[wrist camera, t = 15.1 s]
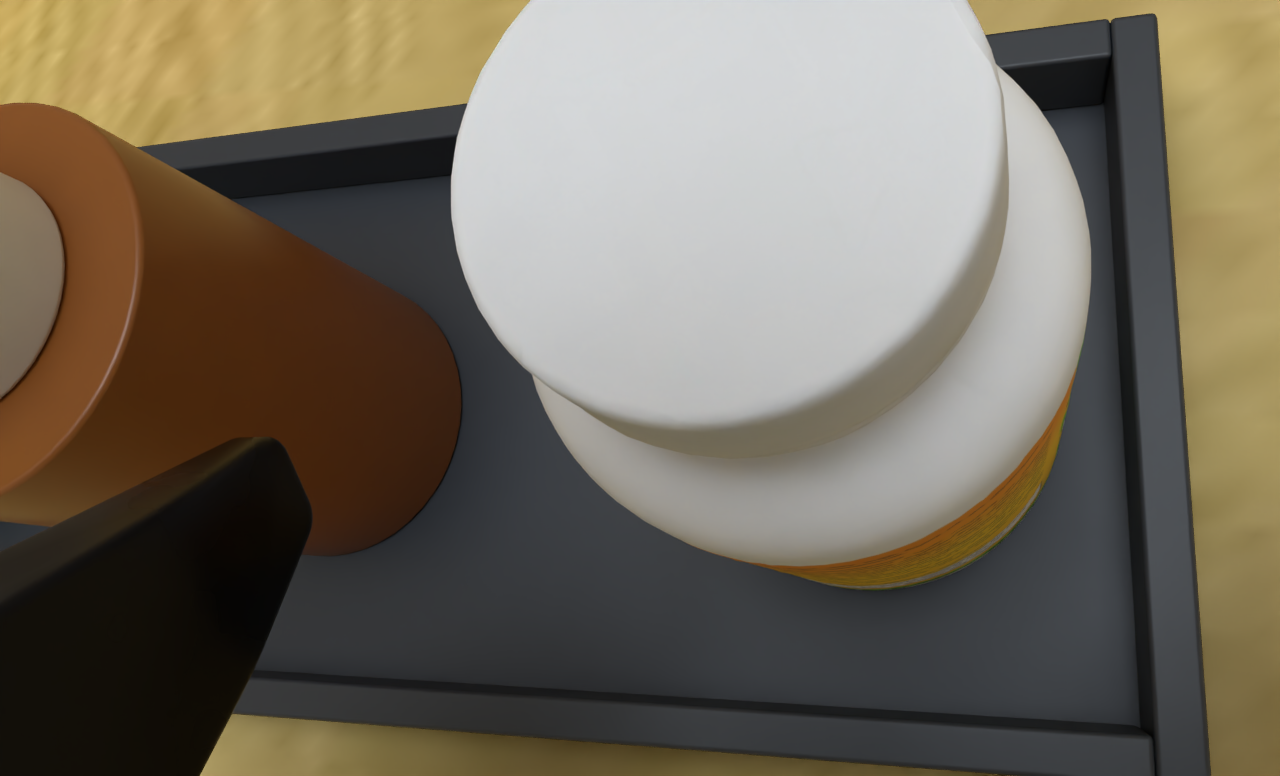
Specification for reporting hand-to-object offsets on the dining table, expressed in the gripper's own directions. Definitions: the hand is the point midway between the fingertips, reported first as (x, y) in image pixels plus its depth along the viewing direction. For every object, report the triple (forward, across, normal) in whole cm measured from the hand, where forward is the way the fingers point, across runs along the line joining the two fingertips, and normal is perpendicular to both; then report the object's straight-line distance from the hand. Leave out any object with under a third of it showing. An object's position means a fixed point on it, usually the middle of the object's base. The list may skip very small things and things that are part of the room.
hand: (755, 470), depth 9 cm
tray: (+8, +10, +4) cm, 13 cm away
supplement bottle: (+7, 0, +4) cm, 8 cm away
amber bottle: (+7, +10, +4) cm, 12 cm away
